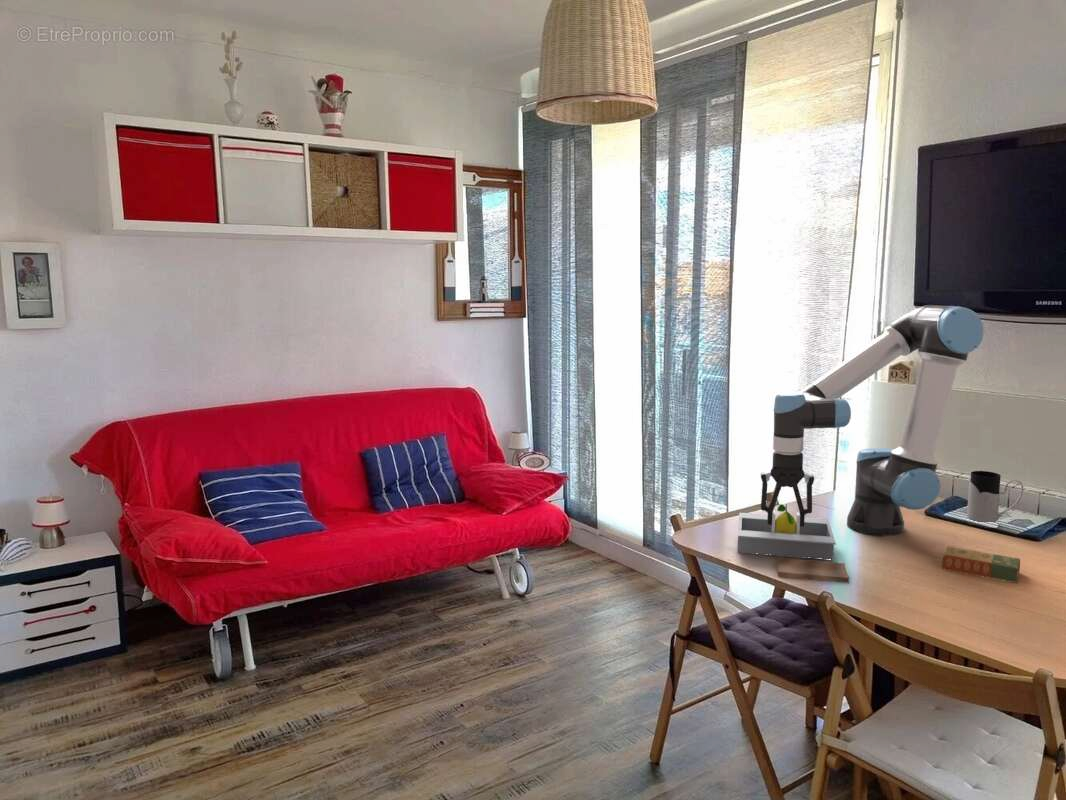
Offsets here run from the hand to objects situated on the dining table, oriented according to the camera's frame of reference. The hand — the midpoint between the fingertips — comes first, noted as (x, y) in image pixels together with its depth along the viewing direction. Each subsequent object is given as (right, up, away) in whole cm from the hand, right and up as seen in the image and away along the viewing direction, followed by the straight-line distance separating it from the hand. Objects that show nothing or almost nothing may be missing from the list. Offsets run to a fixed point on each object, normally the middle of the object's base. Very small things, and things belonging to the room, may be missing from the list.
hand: (785, 536), depth 212 cm
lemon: (0, -1, 0) cm, 1 cm away
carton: (+43, -6, -16) cm, 46 cm away
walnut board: (+1, -6, -16) cm, 17 cm away
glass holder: (+66, 0, +19) cm, 69 cm away
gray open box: (0, -3, 0) cm, 3 cm away
